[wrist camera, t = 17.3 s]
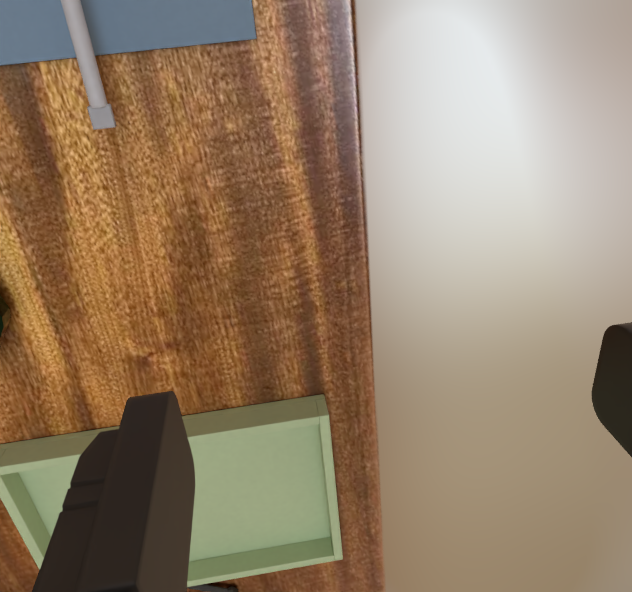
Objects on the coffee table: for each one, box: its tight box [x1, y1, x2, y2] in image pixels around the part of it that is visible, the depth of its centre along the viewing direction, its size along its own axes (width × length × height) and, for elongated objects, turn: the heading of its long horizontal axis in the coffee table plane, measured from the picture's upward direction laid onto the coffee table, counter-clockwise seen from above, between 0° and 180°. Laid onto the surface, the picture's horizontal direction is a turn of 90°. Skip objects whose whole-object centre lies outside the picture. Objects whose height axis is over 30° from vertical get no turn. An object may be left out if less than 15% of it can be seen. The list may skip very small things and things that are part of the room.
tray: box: [0, 394, 343, 587], centre depth 45 cm, size 26×18×3 cm
